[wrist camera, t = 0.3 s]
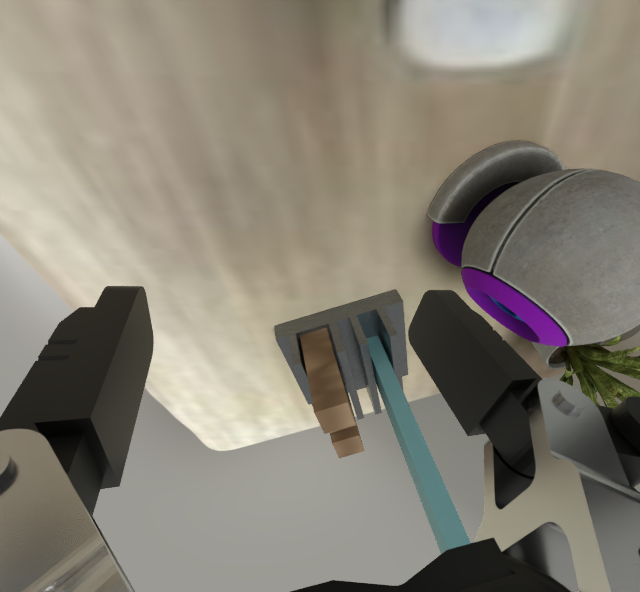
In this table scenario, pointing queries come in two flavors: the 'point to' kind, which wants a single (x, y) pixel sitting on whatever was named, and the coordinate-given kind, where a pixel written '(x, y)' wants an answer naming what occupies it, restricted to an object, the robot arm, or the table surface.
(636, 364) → the house plant
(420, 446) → the tall sheet
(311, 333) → the offcut stack
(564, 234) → the webcam
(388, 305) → the rack
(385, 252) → the table surface
